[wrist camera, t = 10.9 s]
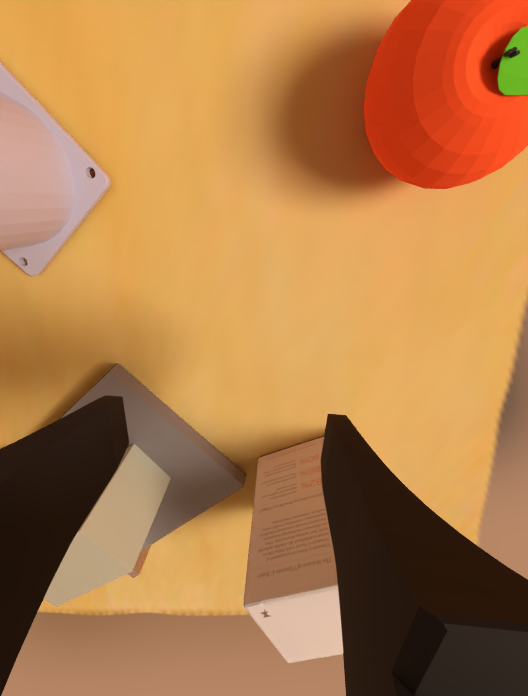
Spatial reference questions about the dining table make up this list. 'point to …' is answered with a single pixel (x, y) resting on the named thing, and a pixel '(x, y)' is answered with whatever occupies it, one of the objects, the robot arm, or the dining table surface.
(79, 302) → the dining table surface
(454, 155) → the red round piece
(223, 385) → the dining table surface
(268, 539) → the small box
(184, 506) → the grey square slab
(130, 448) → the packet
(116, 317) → the dining table surface
